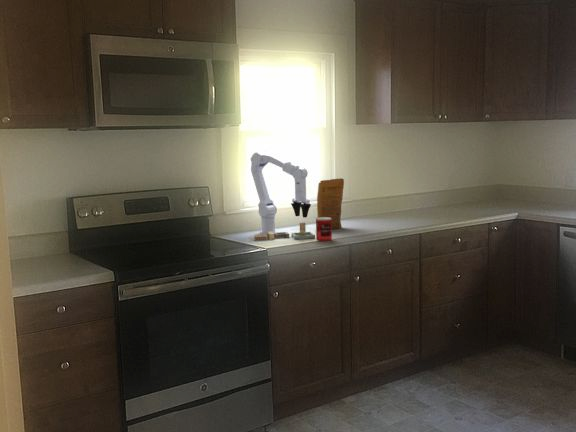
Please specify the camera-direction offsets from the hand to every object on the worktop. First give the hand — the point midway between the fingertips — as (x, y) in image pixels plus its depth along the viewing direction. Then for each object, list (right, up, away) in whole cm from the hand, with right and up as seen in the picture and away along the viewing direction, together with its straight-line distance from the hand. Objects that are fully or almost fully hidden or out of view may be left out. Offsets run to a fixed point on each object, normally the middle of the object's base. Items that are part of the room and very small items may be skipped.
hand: (301, 216), depth 339 cm
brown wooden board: (-21, -12, -7) cm, 25 cm away
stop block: (-16, -11, -6) cm, 20 cm away
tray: (+1, -11, -6) cm, 12 cm away
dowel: (+1, -10, -6) cm, 12 cm away
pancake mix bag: (+17, -7, +23) cm, 29 cm away
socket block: (-10, -11, -2) cm, 15 cm away
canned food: (+11, -12, -16) cm, 23 cm away
